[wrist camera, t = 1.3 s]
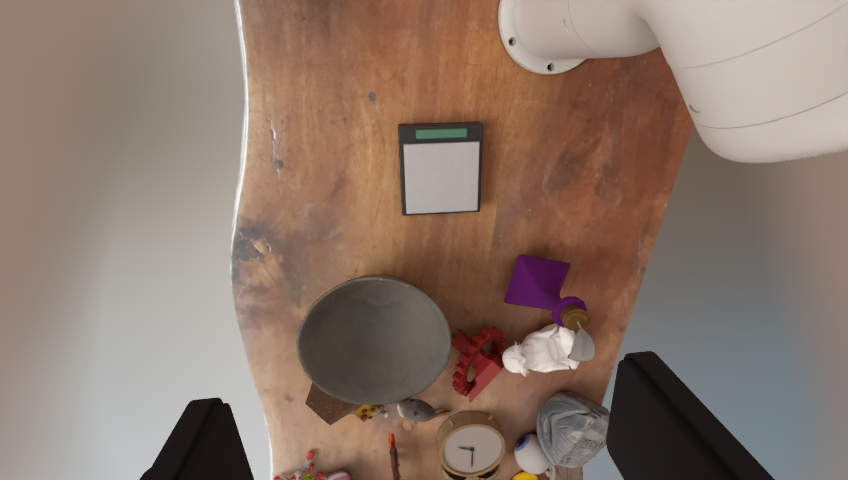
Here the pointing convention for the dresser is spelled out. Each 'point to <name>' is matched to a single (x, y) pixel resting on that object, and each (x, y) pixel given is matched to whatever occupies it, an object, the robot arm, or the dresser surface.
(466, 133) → the scale
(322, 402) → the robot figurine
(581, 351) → the perfume bottle
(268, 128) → the dresser surface
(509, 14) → the robot arm
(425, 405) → the fish
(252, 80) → the dresser surface
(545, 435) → the decorative stone
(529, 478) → the candle
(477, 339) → the red toothed curved piece
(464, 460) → the alarm clock
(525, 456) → the eyeball
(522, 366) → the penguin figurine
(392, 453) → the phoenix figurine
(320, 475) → the molecular model
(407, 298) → the bowl
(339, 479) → the eraser
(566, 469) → the rock
